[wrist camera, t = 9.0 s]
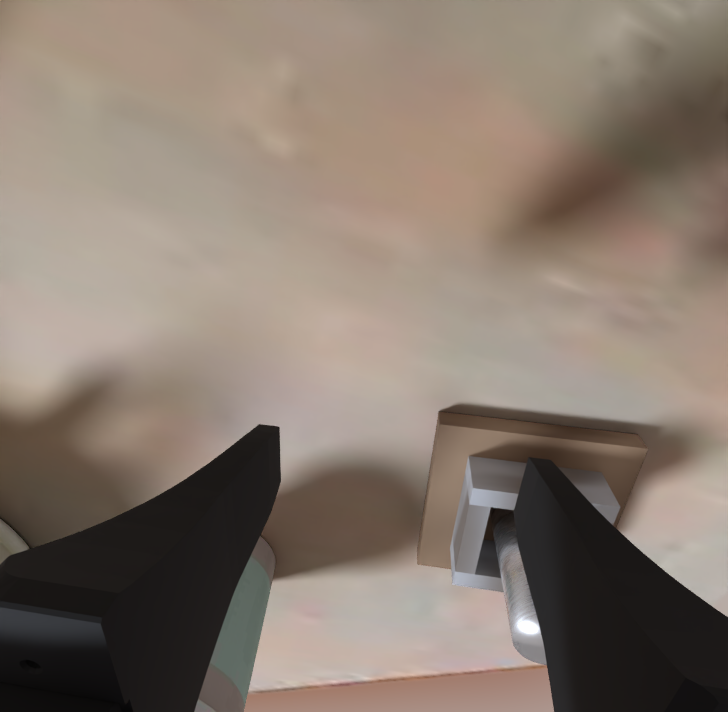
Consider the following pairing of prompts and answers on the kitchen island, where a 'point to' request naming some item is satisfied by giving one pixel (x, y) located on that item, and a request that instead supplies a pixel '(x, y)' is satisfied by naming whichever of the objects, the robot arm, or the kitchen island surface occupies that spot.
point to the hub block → (510, 484)
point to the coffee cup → (239, 637)
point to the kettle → (10, 542)
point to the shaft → (516, 588)
